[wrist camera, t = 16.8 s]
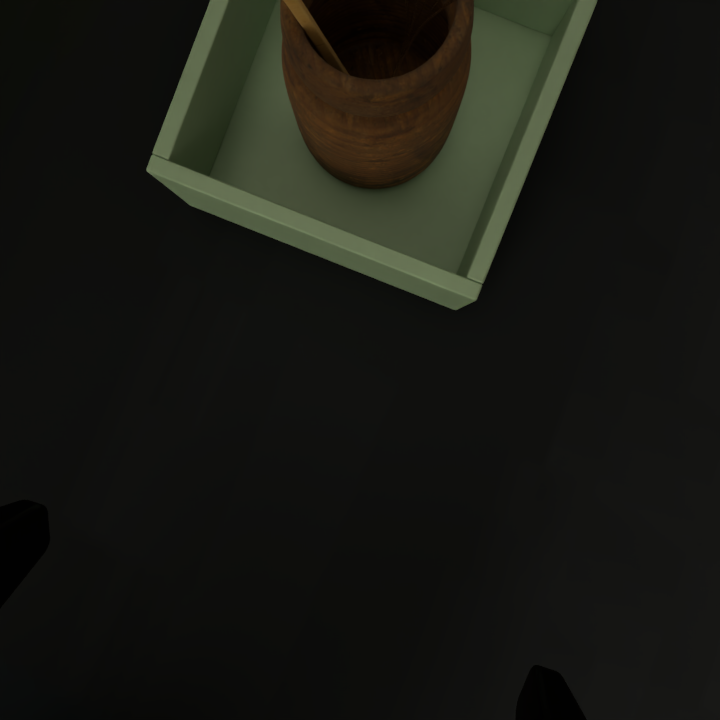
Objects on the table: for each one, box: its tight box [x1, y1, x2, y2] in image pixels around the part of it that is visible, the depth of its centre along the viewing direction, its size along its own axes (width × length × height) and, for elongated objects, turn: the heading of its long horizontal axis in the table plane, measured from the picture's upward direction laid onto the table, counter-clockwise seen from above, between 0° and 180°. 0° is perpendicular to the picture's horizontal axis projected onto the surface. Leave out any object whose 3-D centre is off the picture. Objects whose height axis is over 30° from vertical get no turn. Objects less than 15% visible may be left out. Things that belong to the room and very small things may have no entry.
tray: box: [147, 0, 598, 310], centre depth 19 cm, size 12×12×4 cm
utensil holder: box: [280, 0, 474, 189], centre depth 14 cm, size 6×6×12 cm
